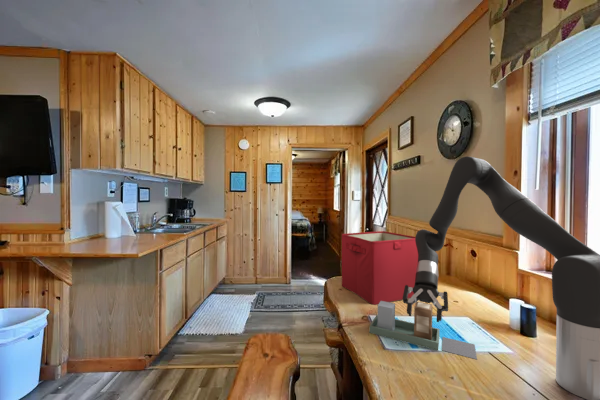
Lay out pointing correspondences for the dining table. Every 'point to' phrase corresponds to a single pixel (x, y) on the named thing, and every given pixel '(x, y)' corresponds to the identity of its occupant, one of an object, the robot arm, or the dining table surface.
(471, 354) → the slate pad
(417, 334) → the label box
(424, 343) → the parts bin
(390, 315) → the plain box
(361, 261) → the storage cube
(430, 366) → the dining table surface
